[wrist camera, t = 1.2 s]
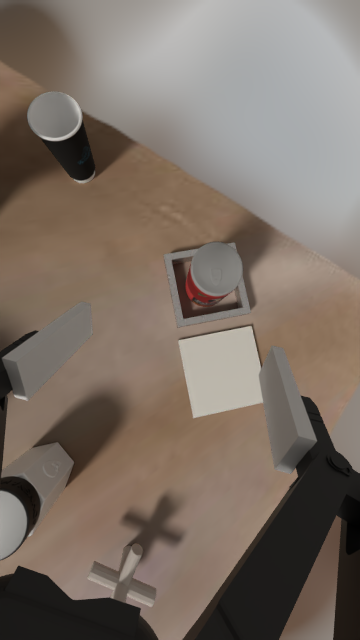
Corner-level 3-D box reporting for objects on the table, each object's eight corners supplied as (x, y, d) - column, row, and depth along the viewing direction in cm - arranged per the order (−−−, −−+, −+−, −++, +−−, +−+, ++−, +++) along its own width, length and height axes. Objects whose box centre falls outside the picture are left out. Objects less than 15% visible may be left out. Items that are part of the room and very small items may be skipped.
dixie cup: (60, 154, 44) (24, 92, 33) (101, 151, 44) (79, 89, 33) (63, 192, 43) (28, 141, 32) (105, 189, 44) (84, 137, 33)
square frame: (163, 259, 43) (163, 254, 40) (231, 248, 44) (234, 242, 41) (177, 327, 41) (177, 327, 39) (246, 314, 42) (250, 312, 40)
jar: (84, 470, 38) (45, 529, 26) (45, 506, 37) (-13, 583, 25) (51, 430, 39) (-2, 470, 27) (12, 464, 38) (-61, 521, 26)
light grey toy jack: (167, 533, 38) (167, 601, 28) (142, 594, 37) (133, 688, 27) (114, 509, 38) (95, 569, 28) (87, 570, 37) (57, 654, 27)
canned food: (190, 311, 42) (197, 300, 31) (180, 271, 43) (185, 246, 32) (228, 303, 42) (249, 289, 32) (219, 263, 43) (236, 236, 32)
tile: (178, 340, 41) (178, 340, 41) (250, 326, 42) (251, 325, 42) (193, 416, 40) (193, 418, 39) (267, 400, 41) (268, 401, 40)
